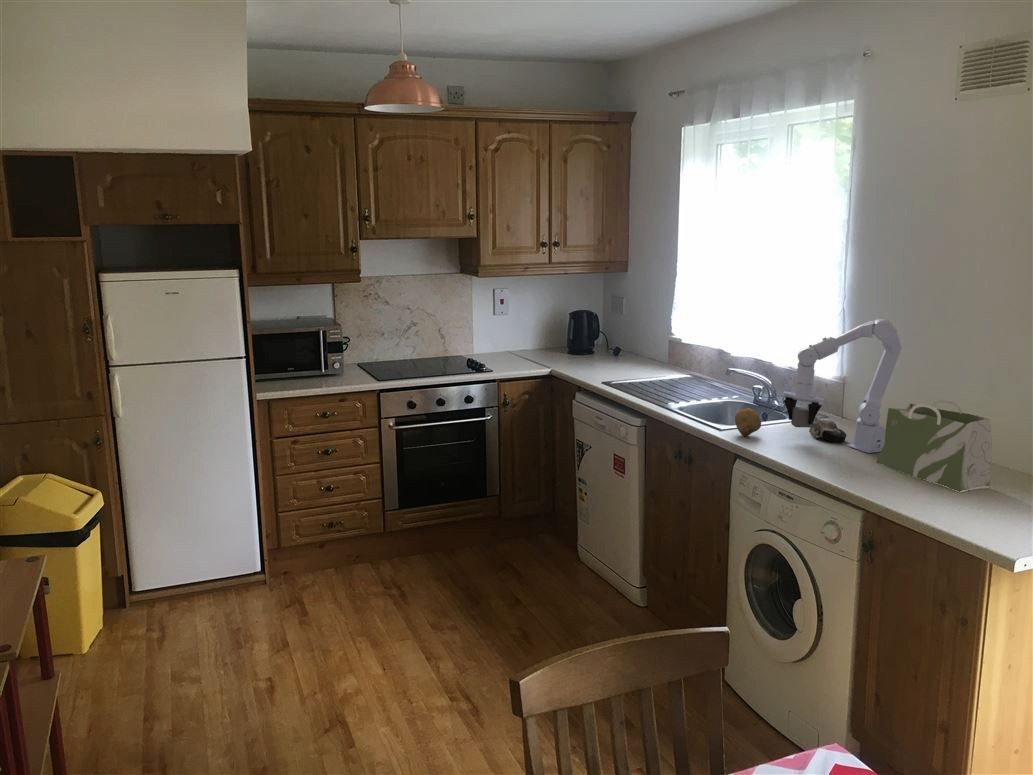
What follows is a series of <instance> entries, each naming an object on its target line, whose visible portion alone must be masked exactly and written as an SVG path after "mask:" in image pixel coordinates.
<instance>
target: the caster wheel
mask: <svg viewBox="0 0 1033 775" xmlns="http://www.w3.org/2000/svg"><path fill="white" fill-rule="evenodd" d="M814 421H815V422H816V423H818V425H817V428H809V430H808V432H809V434H810V435H811V436H812V438H813V439H814V440H817V438H818V437H821V438H823V439H825V440H827V441H829V442H832V443H834V444H835V443H836V444H843V443H844V442H845V441H846V438H847V433H846V432H845V431H844V430H842V429H841V428H838V426H837V424H836V423H835V422H834V421H832V420H829V419H823V418H818V417H817V415H816V416H815V419H814Z"/></svg>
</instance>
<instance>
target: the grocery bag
mask: <svg viewBox="0 0 1033 775" xmlns="http://www.w3.org/2000/svg"><path fill="white" fill-rule="evenodd" d="M940 403H947V404H951V405H953V406H954V407H956V408H957V409H958V411H951V410H946V409H941V408H940V409H939V408H936V406H937V405H938V404H940ZM887 409H888V410H887V416H886V417H887V418H886V423H885V431H886V432H885V444H884V446H883V448H882V451H881V452H880V453H879V455H878V457H877V459H876V461H875V462H878V463H877V464H879V463H880V464H879V465H881V464H883V465H882V466H884V465H885V467H887V466H888V467H887V468H890V467H891V468H890V469H892V468H894V469H893V470H895V469H896V471H897V470H899V471H898V472H900V471H901V472H900V473H902V472H904V473H906V474H905V475H907V474H909V475H911V476H910V477H912V476H914V477H918V478H921V479H925V480H928V481H931V482H935V483H938V484H941V485H944V486H947V487H949V488H951V489H954V490H957V491H959V492H960V491H962V490H967V489H971V488H976V487H982V486H989V487H990V482H991V471H992V470H991V469H992V451H993V449H992V447H993V446H992V442H993V437H992V436H993V435H992V428H991V419H990V418H987V417H984V416H983V417H982V416H978V415H974V414H971V413H966V412H964V410H963V409H962V406H961V405H959V403H957V402H955V401H953V400H946V399H941V398H940V399H937V400H935V401H933V404H932V405H930V404H929V405H928V404H925V403H924V404H923V403H917V404H916V403H909V404H908V406H907V407H906V408H894V407H888V408H887ZM904 473H903V474H904ZM909 475H908V476H909ZM914 477H913V478H914ZM921 479H920V480H921ZM931 482H930V483H931ZM951 489H950V490H951ZM959 492H958V493H959Z"/></svg>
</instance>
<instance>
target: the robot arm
mask: <svg viewBox="0 0 1033 775" xmlns="http://www.w3.org/2000/svg"><path fill="white" fill-rule="evenodd" d="M873 336H874V337H876V338H877V340H879V341H880V343H881V345H882V346H883V348H884V350H883V352H882V354H881V357H880V360H879V362H878V365H877V367H876V368H877V369H876V370H875V373H874V376H873V378H872V381H871V384H870V386H869V389H868V392H867V393H866V395H865V396H864V399H863V401H862V402H861V403H859V405H858V406H857V414H858V415H859V417H858V418H857V419H856V420H855V429H854V439H853V443H851V444H850V443H849V444H847V447H848V448H849V447H850V448H852V449H855V450H858V451H861V452H864V453H867V454H871V453H873V454H874V453H879V452H880V453H881V451H882V448H883V446H884V444H885V432H886V428H884V427H882V426H881V425H880V421H879V420H880V417H881V412H880V411H881V408H882V407H881V406H882V403H883V398H884V395H885V393H886V390H887V388H888V385H889V382H890V380H891V377H892V375H893V372H894V370H895V367H896V364H897V361H898V359H899V356H900V353H901V351H902V345H901V341H900V338H899V333H898V330H897V328H896V327H895V326H894V324H893V323H892V322H891V321H890V320H889V319H888V318H886V317H877V318H875V319H874V320H870V321H867V322H865V323H862V324H860V325H858V326H856V327H854V328H852V329H850V330H848V331H846V332H844V333H842V334H840V335H839V336H836V337H833V336H828V337H827V336H823V337H821V340H818V341H817V342H815V343H810V344H808V347H807V346H805V347H802V348H801V349H800V350H799V351H798V354H797V359H798V363H797V369H796V377H795V388H794V392H790V391H783V392H782V398H783V403H784V405H785V408H786V411H787V416H788V420H789V421H791V420H792V410H793V407H797V402H798V401H800V402H801V401H802V402H806V403H809V404H807V405H808V407H807V408H809V419H808V424H813V422H814V419H815V416H816V417H817V414H818V413H819V411H820V409H821V407H822V406H823V405H825V398H823V397H819V396H815V395H813V393H814V392H813V391H814V379H815V363H817V361H819V360H820V361H821V360H822V359H825V358H827V357H830V356H832V355H834V354H836V353H837V352H838V351H839V349H840V347H842V346H844V345H846V344H849V343H851V342H853V341H856V340H859V339H860V338H870V339H871V338H874V337H873Z"/></svg>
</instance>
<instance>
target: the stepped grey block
mask: <svg viewBox="0 0 1033 775" xmlns="http://www.w3.org/2000/svg"><path fill="white" fill-rule="evenodd" d="M808 419H809V408H808V407H804V406H802V407H801V406H796V407H793V410H792V420H790V421H791V422H790V423H791V425H792V427H794V428H809V429H810V428H817V425H818V423H816V422H815V421H814V422H813V424H808Z"/></svg>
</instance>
